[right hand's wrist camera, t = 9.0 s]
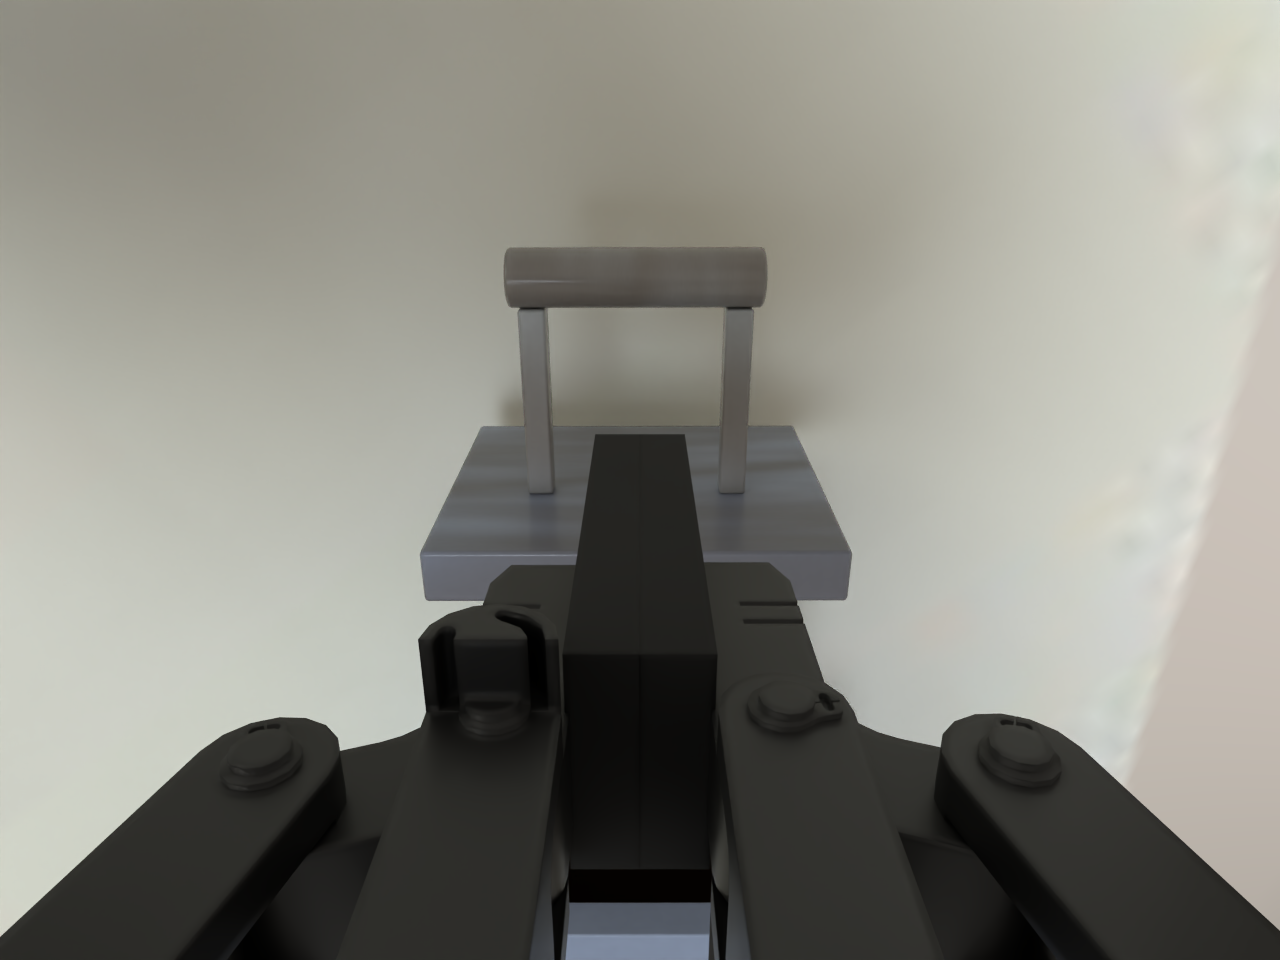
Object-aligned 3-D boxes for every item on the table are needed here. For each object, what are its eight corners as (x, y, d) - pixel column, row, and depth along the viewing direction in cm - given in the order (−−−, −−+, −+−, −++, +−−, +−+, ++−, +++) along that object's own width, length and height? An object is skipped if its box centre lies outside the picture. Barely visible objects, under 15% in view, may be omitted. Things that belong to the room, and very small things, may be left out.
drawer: (463, 221, 22) (384, 275, 15) (808, 220, 22) (884, 274, 15) (519, 903, 32) (486, 1122, 25) (758, 903, 32) (789, 1122, 25)
